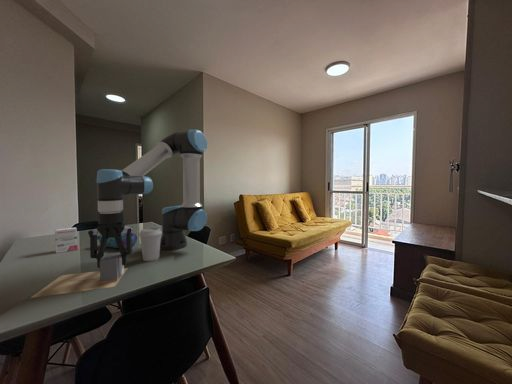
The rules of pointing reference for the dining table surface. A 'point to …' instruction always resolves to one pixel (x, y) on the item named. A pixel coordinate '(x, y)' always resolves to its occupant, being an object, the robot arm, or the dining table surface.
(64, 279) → the board
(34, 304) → the dining table surface
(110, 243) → the pencil case
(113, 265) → the block
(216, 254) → the dining table surface
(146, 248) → the coffee cup
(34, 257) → the dining table surface
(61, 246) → the ink box
